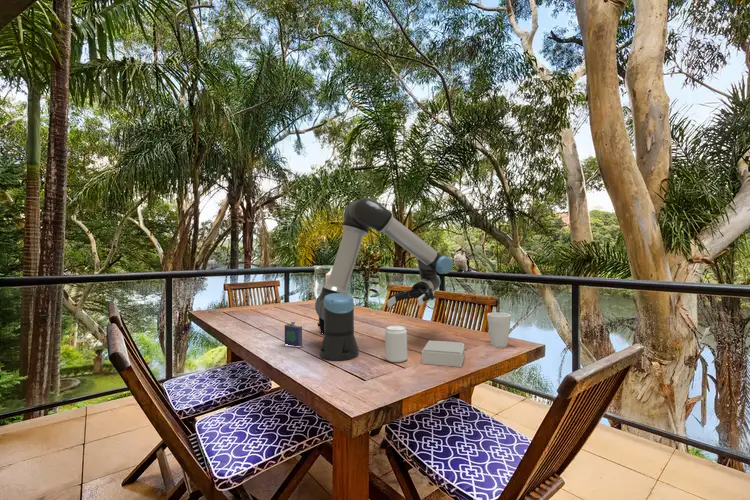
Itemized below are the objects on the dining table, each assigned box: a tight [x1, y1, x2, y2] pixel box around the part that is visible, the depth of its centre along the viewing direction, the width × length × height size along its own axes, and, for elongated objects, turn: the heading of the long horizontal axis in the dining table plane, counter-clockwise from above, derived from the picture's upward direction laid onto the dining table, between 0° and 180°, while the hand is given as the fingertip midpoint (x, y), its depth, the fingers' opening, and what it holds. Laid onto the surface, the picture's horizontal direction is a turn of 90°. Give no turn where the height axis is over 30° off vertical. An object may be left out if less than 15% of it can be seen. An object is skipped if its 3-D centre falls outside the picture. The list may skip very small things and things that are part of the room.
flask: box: [284, 321, 303, 347], centre depth 158 cm, size 9×3×11 cm, turn 61°
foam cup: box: [486, 312, 512, 348], centre depth 156 cm, size 10×9×13 cm
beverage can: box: [384, 325, 408, 363], centre depth 138 cm, size 8×8×12 cm
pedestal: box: [421, 340, 465, 368], centre depth 138 cm, size 14×14×5 cm
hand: (402, 303), depth 147 cm, fingers open, 13 cm apart
